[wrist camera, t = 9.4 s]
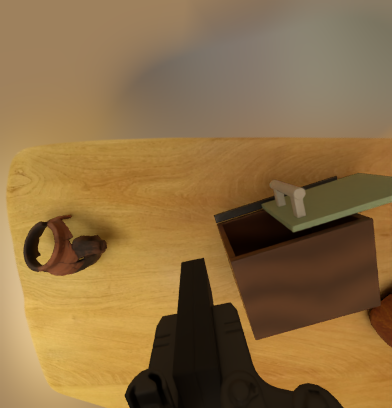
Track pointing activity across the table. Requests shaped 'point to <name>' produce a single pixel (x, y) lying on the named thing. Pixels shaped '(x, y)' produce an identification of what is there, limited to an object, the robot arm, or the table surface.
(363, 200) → the sliding door
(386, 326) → the bread
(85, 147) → the table surface
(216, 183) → the table surface
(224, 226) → the cupboard
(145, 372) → the robot arm
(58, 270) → the broken clay pot
